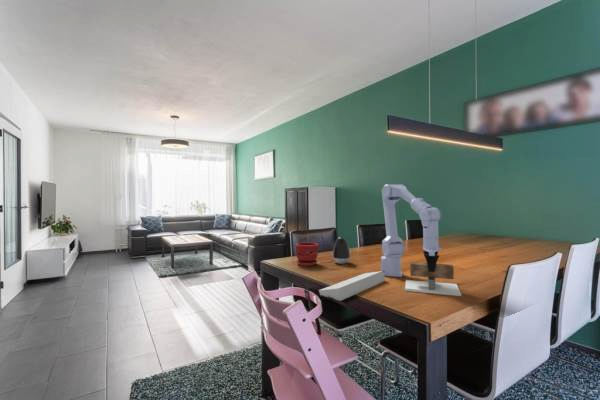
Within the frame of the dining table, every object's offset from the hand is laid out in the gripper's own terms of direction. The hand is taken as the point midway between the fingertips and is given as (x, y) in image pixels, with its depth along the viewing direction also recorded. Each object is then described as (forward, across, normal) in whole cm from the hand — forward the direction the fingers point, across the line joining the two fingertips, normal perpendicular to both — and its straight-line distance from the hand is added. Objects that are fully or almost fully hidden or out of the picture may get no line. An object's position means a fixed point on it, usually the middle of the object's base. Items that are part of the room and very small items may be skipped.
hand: (431, 270), depth 121 cm
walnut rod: (+3, 0, 0) cm, 3 cm away
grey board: (+8, 0, 0) cm, 8 cm away
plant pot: (+8, +27, +64) cm, 70 cm away
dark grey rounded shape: (+8, +36, +46) cm, 59 cm away
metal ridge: (+8, 0, 0) cm, 8 cm away
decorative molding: (+8, -8, +30) cm, 32 cm away
